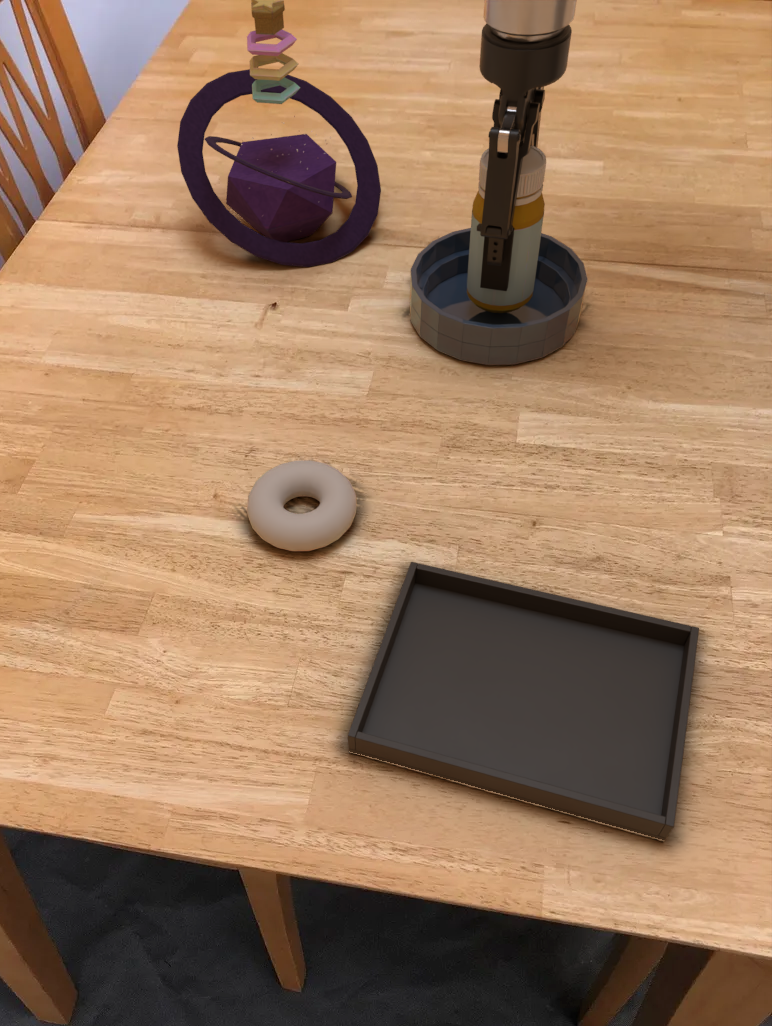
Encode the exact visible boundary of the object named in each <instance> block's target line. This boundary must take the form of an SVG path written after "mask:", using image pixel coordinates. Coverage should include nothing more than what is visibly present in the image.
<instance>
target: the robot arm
mask: <svg viewBox="0 0 772 1026" xmlns="http://www.w3.org/2000/svg"><path fill="white" fill-rule="evenodd" d="M577 1H578V0H484V4H483V17H482V18H483V20H484V22H485V24H484V25H483V27H482V29H481V37H480V38H481V39H480V53H479V55H480V56H479V66H478V67H479V72H480V74H481V76H482V77H483V78H484V79H485V80H486V81H487V82H489V83H490V84H493V85H495V86H497V88H499V97H498V98H495V99H494V103H493V107H492V115H491V118H492V121H493V126H491V128H490V130H489V131H488V148H489V157H488V167H487V177H486V187H485V196H484V206H483V216H482V224H480V223H479V224H478V226H477V231H480V232H481V233H480V235H481V236H483V237H484V248H483V260H482V272H481V284H480V288H486V289H493V290H500V291H507V289H508V283H509V274H510V265H511V256H512V247H513V238H514V229H515V228H513V226H512V224H513V218H514V211H515V205H516V199H517V192H518V186H519V180H520V174H521V167H522V161H523V157H524V156H526V155H527V154H528V153H529V151H530V146H535V147H537V148H539V147H538V146H539V137H540V128H541V120H542V119H541V118H542V110H543V107H544V103H545V100H546V99H545V98H546V89H545V87H547V86H550V85H552V84H554V83H556V82H557V81H559V80H560V79H561V78H562V77H563V76H564V75H565V73H566V71H567V68H568V62H569V61H568V60H569V54H570V46H571V39H572V31H573V30H572V27H571V25H570V24H571V23H572V22H573V21H574V18H575V16H576V9H577V3H578V2H577Z"/></svg>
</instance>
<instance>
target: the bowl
mask: <svg viewBox="0 0 772 1026" xmlns="http://www.w3.org/2000/svg"><path fill="white" fill-rule="evenodd" d="M470 233H471V227H468V228H463V229H458V230H455V231H451V232H448V233H446V234H445V235H442V236H441V237H438V238H436V239H434V240H432V241H431V242H429V244H428V245H427V246H425V247H424V248H423V249H422V250H421V251H419V253H417V255H416V257H415V259H414V261H413V263H412V265H411V268H410V275H409V276H410V277H409V279H410V282H409V318H410V319H409V320H410V323H411V325H412V326H413V327H414V329H415V331H416V333H417V334H418V336H419V338H420V339H422V340H423V341H425V342H426V343H427V344H428V345H430V346H431V347H432V348H433V349H435V350H436V351H438V352H440V353H442V354H444V355H447V356H449V357H452V358H454V359H457V360H459V361H464V362H468V363H473V364H480V365H486V366H504V365H507V366H508V365H518V364H523V363H527V362H531V361H534V360H535V361H536V360H538V359H543V358H545V357H546V356H548V355H550V354H552V353H554V352H556V351H557V350H559V349H561V348H563V347H564V346H565V345H566V344H567V342H569V340H570V339H571V338H572V337H573V336H574V335H575V334H576V332H577V329H578V326H579V322H580V319H581V314H582V310H583V305H584V300H585V296H586V291H587V284H588V281H589V280H588V279H589V277H588V275H587V271H586V267H585V264H584V262H583V261H582V259H581V258H580V257H579V256H578V255H577V253H576V252H575V251H574V249H572V247H570V246H568V245H566V244H565V243H563V242H562V241H560V240H558V239H557V238H555V237H554V236H552V235H548V234H546V233H543V232H541V239H540V246H539V254H538V261H537V268H536V276H535V283H534V290H533V295H532V297H531V299H530V300H529V302H527V303H526V304H525V305H524V306H522V307H521V308H519V309H517V310H515V311H512V312H506V313H492V312H489V311H485V310H483V309H481V308H479V307H477V306H476V305H475V304H474V303H473V302H472V301H471V300H470V299H469V297H468V294H467V276H468V262H469V247H470Z"/></svg>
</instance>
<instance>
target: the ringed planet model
mask: <svg viewBox="0 0 772 1026" xmlns="http://www.w3.org/2000/svg"><path fill="white" fill-rule="evenodd" d="M250 6H251V7H250V8H251V9H250V10H251V16H252V18H253V19H254V20H253V21H254V29H255V30H253V31H250V32H249V33H248V34H247V36H246V50H247V52H249V53H250V54H251V55H253V56H252V57H251V58H250V59H249V69H242V70H236V71H230V72H227V73H224V74H222V75H220V76H219V77H216V78H215V79H213V80H210V81H209V82H207V83H205V84H204V86H203V87H202V88H201V89H200V90H199V91H197V93H195V95H194V96H192V97H191V99H190V100H189V102H188V105H187V107H186V108H185V111H184V113H183V115H182V117H181V119H180V121H179V128H178V129H179V130H178V135H177V137H178V138H177V145H176V148H177V154H178V159H179V167H180V173H181V175H182V178H183V180H184V182H185V184H186V187H187V189H188V191H189V194H190V196H191V199H192V200H193V201H194V203H195V204H196V206H197V207H198V208H199V210H200V211H201V213H202V214H203V215H204V217H205V218H206V220H207V221H208V222H209V223H210V225H212V226H213V227H214V228H215V229H216V230H217V231H218V232H219V233H221V234H222V235H223V236H224V237H225V238H226V239H227V240H228V241H229V242H231V243H233V244H234V245H236V246H238V247H239V248H241V249H243V250H244V251H246V252H248V253H250V254H251V255H253V256H254V257H257V258H260V259H263V260H266V261H269V262H272V263H276V264H278V265H281V266H291V267H306V268H310V267H314V266H319V265H326V264H330V263H333V262H336V261H337V260H339V259H341V258H343V257H345V256H347V255H350V254H351V253H352V252H354V251H355V250H356V249H357V248H358V247H359V246H360V244H361V243H362V242H363V241H364V240H365V239H366V238H367V237H368V236H369V234H370V233H371V230H372V228H373V226H374V224H375V221H376V219H377V218H378V215H379V209H380V203H381V202H380V200H381V193H382V188H381V180H380V174H379V167H378V163H377V161H376V157H375V156H374V153H373V150H372V147H371V145H370V143H369V141H368V138H367V137H366V135H365V134H364V132H363V131H362V130H361V128H360V127H359V125H358V124H357V122H356V121H355V119H354V118H353V116H352V115H350V113H348V112H347V110H346V109H344V108H343V107H342V106H341V105H340V104H339V103H338V102H337V101H336V100H335V99H334V98H333V97H332V96H331V95H329V94H328V93H326V92H324V91H323V90H321V89H320V88H318V87H316V86H315V85H313V84H312V83H310V82H309V81H307V80H304V79H302V78H300V77H299V78H298V77H297V76H293V75H290V74H291V73H293V71H295V69H296V68H297V67H298V65H299V63H298V62H297V60H295V58H293V57H291V56H289V55H287V54H285V53H284V52H286V50H288V49H290V48H292V46H294V45H295V43H296V42H297V41H298V38H296V36H294V35H293V34H292V32H288V31H287V30H285V29H284V28H285V23H284V22H285V21H284V11H286V9H285V8H286V7H285V0H251V5H250ZM272 39H277V40H280V41H279V42H278V43H262V42H263V41H264V42H265V41H268V40H272ZM259 42H261V43H259ZM276 63H279V64H281V65H283V66H281V67H280V68H263V67H262V66H267V65H272V64H276ZM249 95H251V97H252V100H253V101H254V102H255V103H257V104H269V105H270V104H271V105H272V104H273V105H274V104H275V105H283V104H284V103H286V102H287V101H288V100H290V99H291V100H293V101H296V102H299V103H300V104H302V105H304V106H305V107H307V108H309V109H311V110H312V111H313V112H316V113H317V114H318V115H319V116H320V117H322V118H323V120H325V122H327V123H328V125H330V126H331V127H332V128H333V129H334V130H335V132H336V133H337V134H338V136H339V137H340V139H341V141H342V142H343V143H344V145H345V146H346V148H347V150H348V154H349V155H350V157H351V161H352V163H353V165H354V171H355V178H356V185H357V187H356V194H355V201H354V205H353V207H352V209H351V211H350V213H349V216H348V218H347V219H346V220H345V221H344V223H342V224H341V226H340V227H338V229H337V230H336V231H334V232H333V233H330V234H329V235H326V236H325V237H324V238H322V239H319V240H318V239H317V240H313V241H309V242H308V241H307V242H301V243H300V242H299V243H298V242H292V241H297V240H300V239H303V238H307V237H311V236H312V235H313V234H314V233H315V232H316V231H317V230H318V229H319V228H320V227H321V226H322V225H323V223H325V222H326V221H327V220H328V218H329V217H330V216H331V215H332V214H333V209H334V199H341V200H348V199H352V198H353V196H352V192H351V191H350V190H349V189H347V188H346V187H345V186H344V185H342V184H340V183H339V182H337V181H336V173H337V172H336V171H337V161H336V160H335V159H334V158H333V157H332V156H331V155H330V154H329V153H328V152H326V151H325V150H324V149H323V148H322V147H321V145H319V144H318V143H317V142H316V141H315V140H314V139H313V138H311V137H310V136H309V134H308V133H303V134H294V135H286V136H279V137H271V138H264V139H263V138H262V139H256V140H253V139H254V137H252V138H251V139H252V140H248V141H247V140H246V141H242V142H240V141H237V140H233V139H229V138H226V137H220V136H214V135H213V136H212V135H211V136H210V135H208V136H207V137H206V136H205V134H206V131H207V129H208V127H209V125H210V123H211V121H212V119H213V117H214V116H215V115H216V114H217V113H218V112H219V110H220V109H222V108H223V106H225V105H226V104H228V103H230V102H231V101H234V100H236V99H238V98H240V97H242V96H249ZM293 117H294V118H295V117H296V114H294V115H293ZM282 124H285V122H282ZM297 132H298V133H300V130H298V131H297ZM310 132H311V133H313V130H311V131H310ZM272 135H273V133H270V136H272ZM315 136H316V137H317V136H318V134H315ZM331 138H332V137H331V136H329V139H331ZM324 141H325V142H326V143H325V145H328V142H327V139H325V140H324ZM204 142H206V144H207V145H208V146H209V147H210V148H212V150H214V151H216V152H217V153H219V154H221V155H223V156H224V157H225V158H226V157H227V158H228V159H230V160H232V161H233V163H232V166H231V168H230V169H229V173H228V175H227V182H226V183H227V185H226V197H225V204H226V205H227V206H228V207H229V208H230V209H232V210H233V211H234V212H235V213H236V214H237V215H238V216H239V217H240V218H242V219H243V220H244V221H245V222H246V223H247V224H249V226H250V227H252V228H253V229H254V230H253V229H252V228H250V227H248V226H247V225H245V224H244V223H242V222H241V221H240V220H239V219H238V218H237V217H236V216H235V215H234V214H233V213H232V212H230V210H228V209H227V208H226V206H225V205H224V203H223V202H222V200H221V199H220V197H219V196H218V195H217V193H216V192H215V190H214V189H213V186H212V184H211V181H210V179H209V176H208V174H207V172H206V165H205V158H204V154H203V150H204ZM221 143H222V144H227V145H232V146H236V147H238V151H237V153H236V155H235V154H233V153H231V152H229V151H228V150H226V149H224V148H223V147H221V146H220V145H219V144H221ZM335 188H337V189H338V190H339V191H340V192H337V191H335ZM258 232H259V233H258Z"/></svg>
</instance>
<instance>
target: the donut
mask: <svg viewBox="0 0 772 1026" xmlns="http://www.w3.org/2000/svg"><path fill="white" fill-rule="evenodd" d="M298 497H308V498H313V499H314V500H317V501H318V502H319V504H318V506H317V507H316V508H315V509H312V510H310V511H308V512H304V513H303V512H301V513H296V512H292V511H289V510H287V509H286V508H285V507H284V506H285V505H286V503H288V502H290V501H291V500H292V499H295V498H298ZM357 498H358V497H357V493H356V491H355V489H354V487H353V484H352V482H351V481H350V480H349V478H348V477H347V476H346V475H344V474H343V473H342V472H341V471H340V470H339V469H338V468H336V467H333V466H332V465H329V464H328V463H325V462H320V461H316V460H313V459H312V460H311V459H304V460H303V459H301V460H291V461H288V462H283V463H280V464H277V465H275V466H274V467H272V468H270V469H268V470H267V471H265V472H264V473H263V474H262V475H261V476H260V477H259V478H257V479H256V480H255V482H254V484H253V485H252V487H251V489H250V491H249V493H248V495H247V502H246V503H247V505H246V514H247V517H248V520H249V523H250V526H251V527H252V528H251V529H252V530H254V532H255V533H256V534H257V535H258V536H259V537H260V538H261V539H262V540H263V541H265V542H266V543H268V544H269V545H271V546H273V547H275V548H277V549H281V550H286V551H290V552H310V551H314V550H318V549H322V548H325V547H327V546H329V545H331V544H332V543H335V542H336V541H338V540H339V539H340V538H341V537H342V536H343V535H344V534H345V533H346V532H347V531H348V530H349V529H350V528H351V526H352V524H353V522H354V518H355V517H356V515H357V510H358V509H357V508H358V505H357V503H358V501H357Z"/></svg>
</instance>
